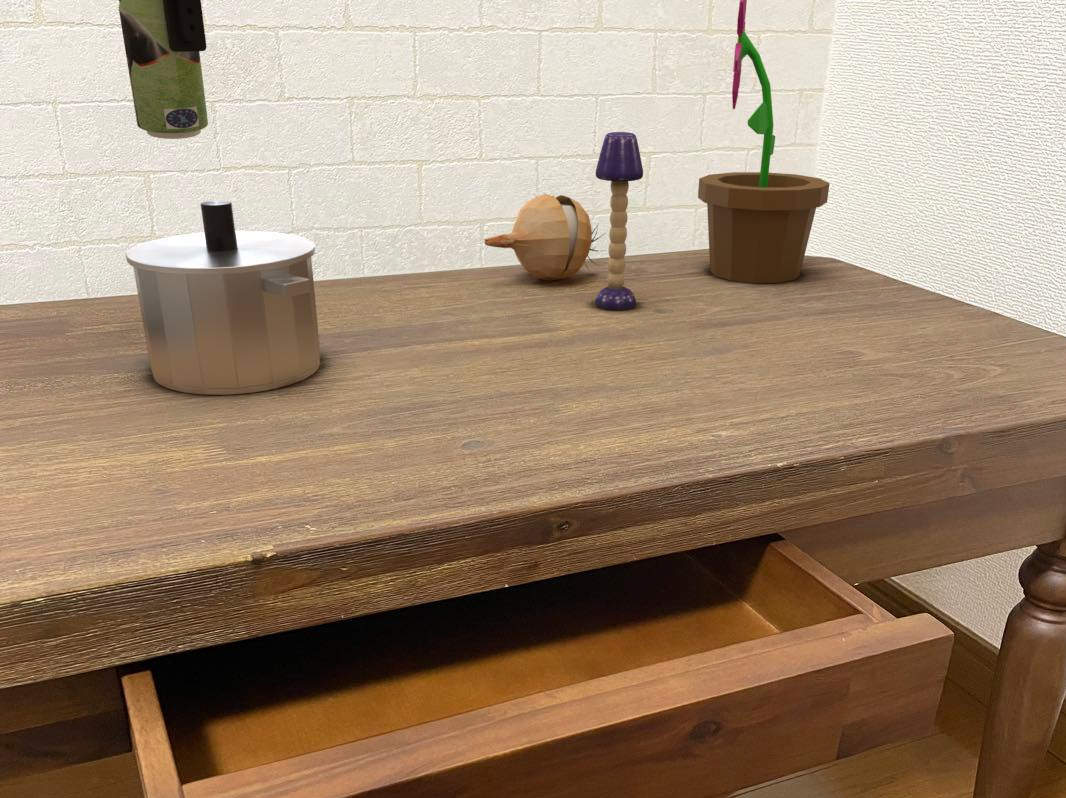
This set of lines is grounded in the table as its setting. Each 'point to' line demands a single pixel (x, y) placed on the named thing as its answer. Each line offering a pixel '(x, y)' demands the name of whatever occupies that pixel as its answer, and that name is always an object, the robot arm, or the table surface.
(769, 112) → the flowerpot
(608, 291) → the toy lamp
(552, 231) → the yellow onion
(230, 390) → the pot
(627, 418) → the table surface
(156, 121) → the beverage can
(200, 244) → the pot lid
